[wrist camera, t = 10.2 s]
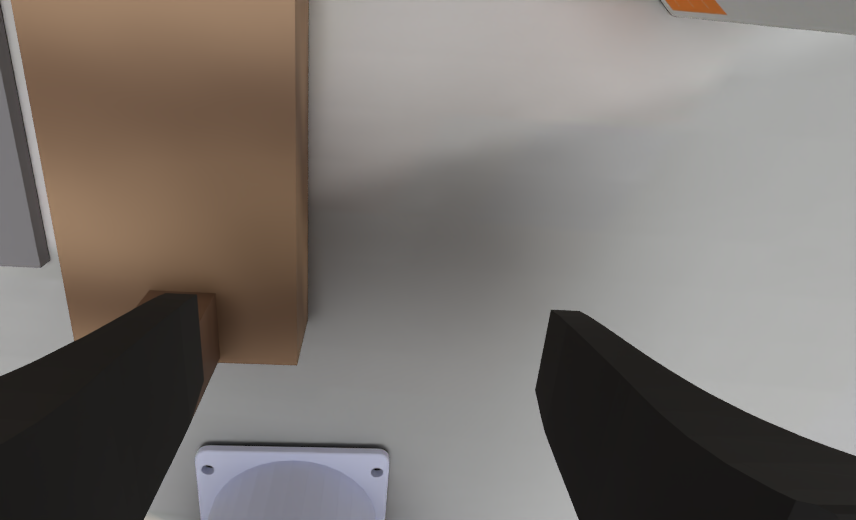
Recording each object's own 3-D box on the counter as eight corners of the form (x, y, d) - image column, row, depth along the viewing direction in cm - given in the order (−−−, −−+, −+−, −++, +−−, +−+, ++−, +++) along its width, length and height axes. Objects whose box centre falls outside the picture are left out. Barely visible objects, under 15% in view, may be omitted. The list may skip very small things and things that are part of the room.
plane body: (307, 320, 22) (277, 449, 16) (116, 312, 22) (4, 444, 15) (309, -193, 16) (258, -318, 10) (35, -226, 15) (-216, -386, 9)
